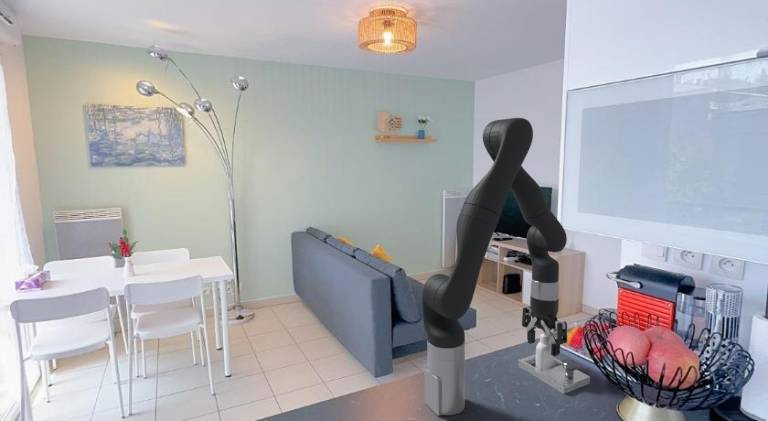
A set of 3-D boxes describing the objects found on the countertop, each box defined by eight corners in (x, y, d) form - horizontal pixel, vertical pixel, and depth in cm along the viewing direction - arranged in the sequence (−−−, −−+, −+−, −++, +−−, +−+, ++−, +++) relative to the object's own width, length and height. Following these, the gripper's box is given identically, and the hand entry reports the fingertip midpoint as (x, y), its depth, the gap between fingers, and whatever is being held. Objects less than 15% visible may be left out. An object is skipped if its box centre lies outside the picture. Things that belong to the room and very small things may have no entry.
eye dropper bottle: (557, 372, 115) (558, 332, 114) (538, 374, 115) (539, 334, 113) (548, 365, 120) (549, 326, 118) (531, 366, 119) (531, 328, 117)
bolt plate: (563, 394, 105) (564, 371, 104) (518, 366, 119) (518, 346, 119) (589, 383, 110) (590, 362, 109) (543, 357, 124) (543, 338, 123)
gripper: (516, 289, 119) (514, 342, 121) (555, 305, 107) (553, 363, 109) (534, 285, 122) (533, 336, 125) (575, 300, 110) (573, 356, 112)
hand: (542, 348), depth 117 cm, fingers open, 8 cm apart
